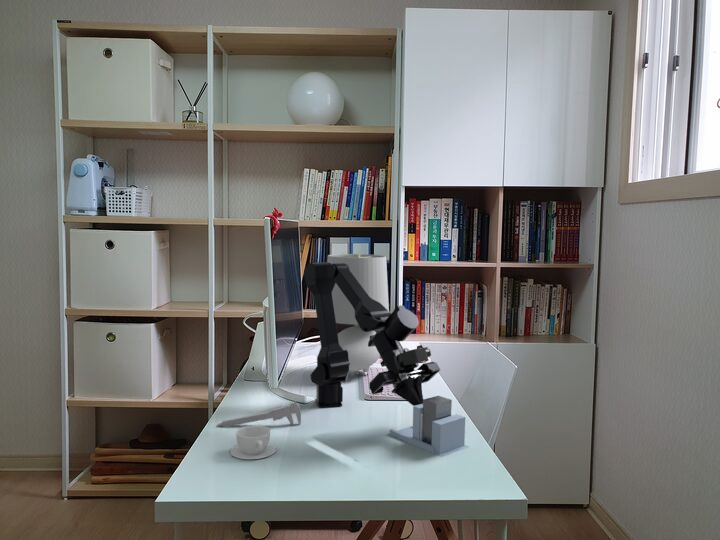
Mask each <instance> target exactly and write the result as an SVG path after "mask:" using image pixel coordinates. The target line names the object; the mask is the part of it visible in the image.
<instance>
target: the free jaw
mask: <svg viewBox="0 0 720 540" xmlns="http://www.w3.org/2000/svg"><path fill="white" fill-rule="evenodd" d="M412 406H413V405H412ZM412 408H413V409H412V410H413V411H412V426H413V438H415V439H417V440H420V441H422V421H423V404H419V405H416V406H413V407H412Z"/></svg>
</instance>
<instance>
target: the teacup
mask: <svg viewBox="0 0 720 540" xmlns="http://www.w3.org/2000/svg"><path fill="white" fill-rule="evenodd" d="M235 436H236V437H235V438H236V442H237V444H236V445H234V446H233V447H232V448H230V450H229V453H230V455H231V456H233V457H235V458H237V459H241V460H258V459H263V458H264V459H265V458H267V457H270V456H272V455H274V454H275V453H276V452H277V447H276V446H275V444H272V443H270V440H271V439H270V438H271V429H270V428H269V427H267V426H262V425H247V426H243V427H240V428H238V429H237V430H236V432H235Z"/></svg>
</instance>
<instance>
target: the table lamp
mask: <svg viewBox="0 0 720 540" xmlns="http://www.w3.org/2000/svg"><path fill="white" fill-rule="evenodd" d="M326 262H329V263H331V264H332V263H345V264H347V265H348V266H349V270H350V272H351V273H352V274H353V276H354V277H355V278H356V279H357V281H358V282H359V283H360V285H361V286H362V287H363V289H364V290H365V291H366V293H367V294H368V295H369V297H371V298H372V299H373V300H375V301H377V302H379V303H381V304H382V305H383V306H384V307H385V308H386V309H387V310H388V312H389V313H390V308H389V307H390V303H389V285H388V270H387V267H388V266H387V265H388V264H387V256H385V255H380V254H366V253H365V254H364V253H363V254H362V253H361V254H360V253H344V254H343V253H340V254H339V253H335V254H328V255H327V260H326ZM332 299H333V306H334V313H335V319H336V324H341V325H353V326H350V327H347V328H344V329H343V330H341V331H340V332H337V333H338V340H339V345H340V346H341V348H342V349H343V350H347V351H348V359H349V362H350V365H349V371H348V374H347V378H346V381H343V382H346V383H347V381H348V378H349V373H350V372H353V374H354V375H359V372H360V371H362V373H363V374H364V372H370V367H371V366H373V365H374V364H376V362H377V361H378V360H379V359H380V358H381V356H380V354H379V352H378V350H377V349H376V347H375V346H371V347H368V342H369V339H370V336H371V335H375V334H376V333H377V331H370V332H364V331H363V330H362V329H361V328H360V326H359V324H358V323H357V321H356V319H355V310H354V308H353V306H352V305H351V303H350V302H349V301H348V299H347V298H346V296H345V295H344V294H343V292H342V291H341V289H340V288H339V287H338V285H337V284H336V283H335V286H334V288H333V291H332Z"/></svg>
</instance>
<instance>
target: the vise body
mask: <svg viewBox="0 0 720 540" xmlns="http://www.w3.org/2000/svg"><path fill="white" fill-rule="evenodd" d="M388 431H389V432H387V434H388V435H390V436H392V437H395V438H398V439H400V440H402V441H404V442H406V443H409V444H411V445H414V446H415V447H419V448H421V449H423V450H425V451H427V452H430V453H432V454H434V455H436V456H440V457H444V456H447V455H450V454H453V453H456V452H459V451H461V450H464V449H467V448H469V447H470V446H469V445H466V444H465V438H466V437H465V434H466V416H463V415H460V414H458V413H457V414H451V416H449V417H446V418H442V419H439V420H436V421H432V445H430V444H427V443H425V442H422V441H420V440H417V439H415V438H413V425H412V426H408V427H405V428H400V429H398V430H395V429H394V428H391V429H389V430H388Z"/></svg>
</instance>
